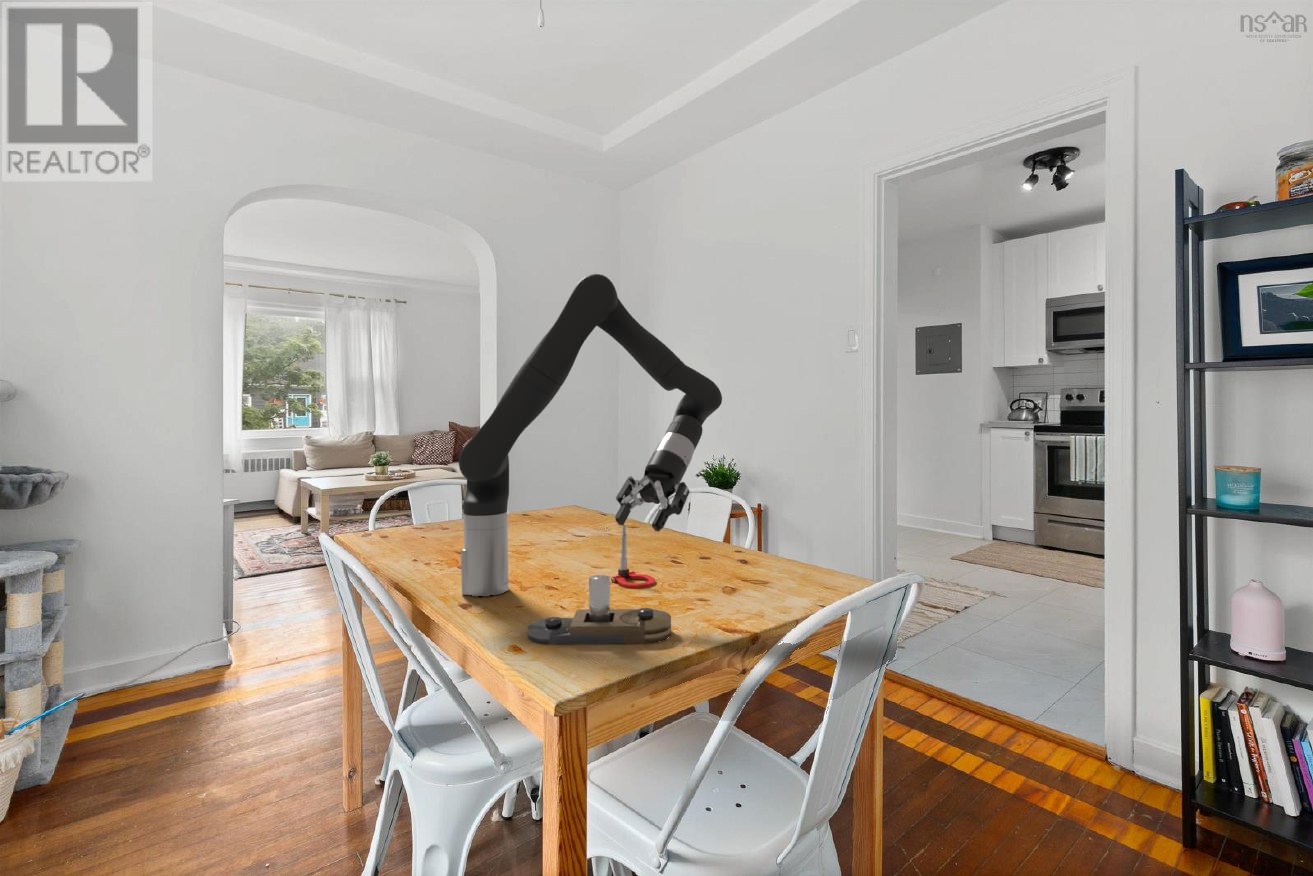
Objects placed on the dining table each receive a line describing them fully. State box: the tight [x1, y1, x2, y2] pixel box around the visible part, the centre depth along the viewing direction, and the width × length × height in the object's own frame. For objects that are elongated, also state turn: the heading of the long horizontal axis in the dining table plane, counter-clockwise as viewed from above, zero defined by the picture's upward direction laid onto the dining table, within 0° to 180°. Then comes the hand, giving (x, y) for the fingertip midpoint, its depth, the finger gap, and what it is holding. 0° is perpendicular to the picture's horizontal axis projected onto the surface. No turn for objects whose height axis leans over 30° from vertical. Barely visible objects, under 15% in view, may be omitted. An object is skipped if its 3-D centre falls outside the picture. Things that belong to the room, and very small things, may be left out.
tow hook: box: [610, 524, 656, 589], centre depth 142 cm, size 8×13×9 cm
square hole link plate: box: [526, 607, 672, 645], centre depth 109 cm, size 25×9×4 cm, turn 90°
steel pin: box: [588, 574, 611, 622], centre depth 109 cm, size 4×4×10 cm
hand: (636, 526), depth 119 cm, fingers open, 8 cm apart
